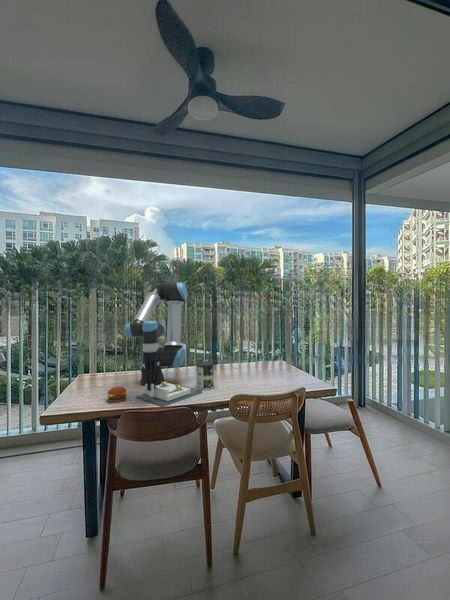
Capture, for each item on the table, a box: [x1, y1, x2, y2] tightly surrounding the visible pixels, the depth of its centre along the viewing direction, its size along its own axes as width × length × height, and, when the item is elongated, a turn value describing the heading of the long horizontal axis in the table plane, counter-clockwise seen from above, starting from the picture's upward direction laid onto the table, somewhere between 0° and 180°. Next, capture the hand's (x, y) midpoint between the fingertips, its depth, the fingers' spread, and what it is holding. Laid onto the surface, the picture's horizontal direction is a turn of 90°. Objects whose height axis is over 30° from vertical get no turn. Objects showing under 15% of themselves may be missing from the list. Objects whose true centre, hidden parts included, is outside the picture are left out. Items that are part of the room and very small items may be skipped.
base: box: [136, 380, 203, 408], centre depth 168 cm, size 22×28×6 cm
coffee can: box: [195, 361, 215, 391], centre depth 182 cm, size 10×10×14 cm
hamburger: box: [106, 386, 128, 404], centre depth 162 cm, size 9×10×7 cm
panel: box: [143, 382, 191, 401], centre depth 166 cm, size 20×16×5 cm
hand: (151, 396), depth 158 cm, fingers closed
